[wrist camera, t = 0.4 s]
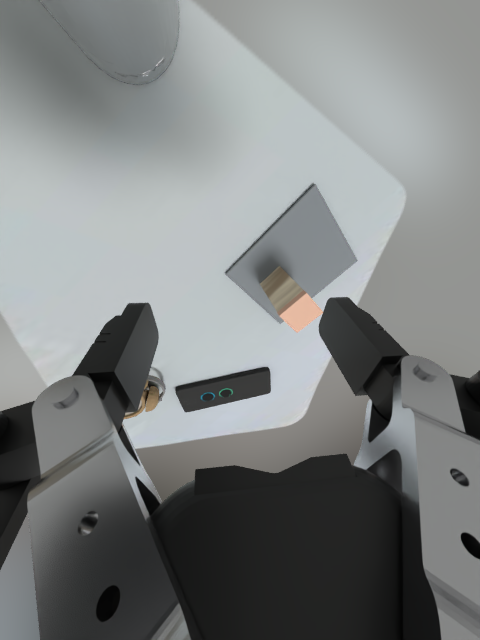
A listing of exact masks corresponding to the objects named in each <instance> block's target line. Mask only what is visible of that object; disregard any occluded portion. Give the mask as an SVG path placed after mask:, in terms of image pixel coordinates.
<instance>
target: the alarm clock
mask: <svg viewBox="0 0 480 640" xmlns="http://www.w3.org/2000/svg"><path fill="white" fill-rule="evenodd" d="M148 381H153V382H155V383H157V384H158V385H160V386H161V387H162V389H163V392H162V393H161V394H160V397H159V390H158V388H157V387H155V386H151V387H150V390H149V387H148ZM165 389H166V388H165V384H164V383H163V381H161V380H160V379H159V378H157V377H154V376H150V375H148V378H147V381H146V384H145V388H144V391H143V394H142V398H141V401H140V404H139V408H138V411H137V412H128V413H125V416H124V419H128V418H131V417H134V416H137V415H138V414H140V413H141V412H142V411H143V410H144V408H145V404H146V412H148V411H152V410H153V409H154V408H155V407H156V406H157V404H158V403H159V402H158V401H162V397H163V395H164V393H165ZM146 401H147V403H146Z"/></svg>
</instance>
